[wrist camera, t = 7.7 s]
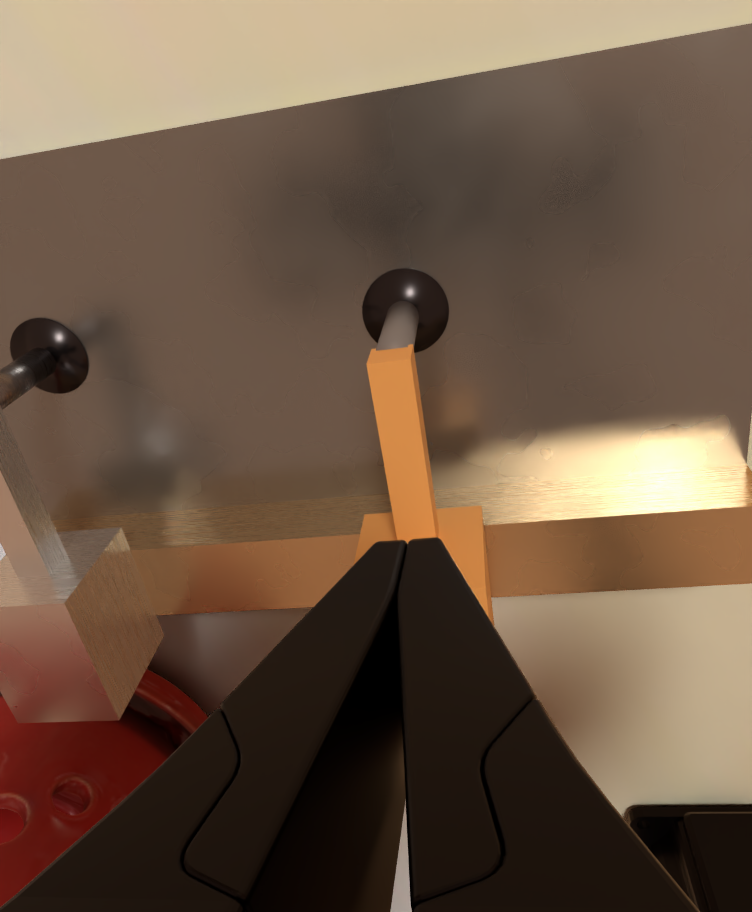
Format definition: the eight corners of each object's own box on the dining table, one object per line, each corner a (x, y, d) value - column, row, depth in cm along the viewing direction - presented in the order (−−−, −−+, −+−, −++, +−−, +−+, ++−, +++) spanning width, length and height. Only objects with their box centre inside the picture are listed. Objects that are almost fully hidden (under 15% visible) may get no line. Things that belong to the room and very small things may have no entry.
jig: (723, 553, 21) (814, 717, 16) (95, 591, 25) (-8, 736, 19) (771, 20, 15) (953, -15, 9) (-88, 175, 18) (-319, 216, 13)
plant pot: (227, 609, 24) (53, 1007, 14) (274, 838, 31) (178, 1232, 20) (-109, 599, 26) (-491, 950, 16) (1, 819, 32) (-219, 1175, 22)
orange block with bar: (491, 583, 21) (500, 720, 16) (393, 588, 21) (375, 723, 17) (461, 293, 17) (462, 370, 12) (341, 308, 17) (299, 389, 13)
